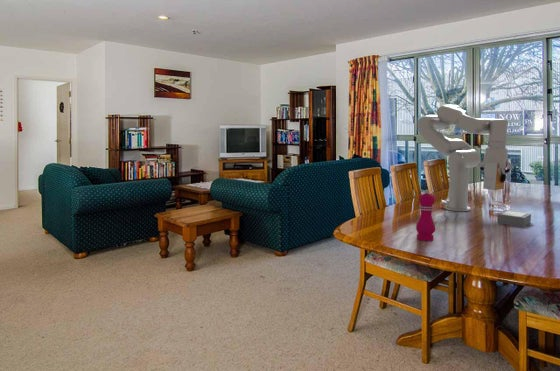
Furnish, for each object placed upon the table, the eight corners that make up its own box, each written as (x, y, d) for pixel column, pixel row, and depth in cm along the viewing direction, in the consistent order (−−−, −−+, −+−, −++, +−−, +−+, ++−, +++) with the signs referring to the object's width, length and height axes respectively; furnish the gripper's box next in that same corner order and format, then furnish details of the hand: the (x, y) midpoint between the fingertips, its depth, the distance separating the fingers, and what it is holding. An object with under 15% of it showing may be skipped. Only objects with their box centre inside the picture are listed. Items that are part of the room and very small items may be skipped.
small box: (495, 190, 205) (497, 163, 203) (482, 188, 210) (484, 162, 208) (504, 189, 210) (506, 162, 208) (491, 187, 215) (493, 161, 213)
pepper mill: (418, 236, 176) (420, 187, 173) (436, 238, 172) (439, 189, 169) (413, 239, 170) (415, 190, 167) (431, 242, 166) (434, 191, 163)
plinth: (497, 222, 198) (497, 214, 197) (504, 219, 206) (505, 210, 205) (523, 226, 190) (524, 217, 190) (530, 222, 198) (531, 213, 198)
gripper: (475, 144, 210) (472, 180, 213) (514, 146, 198) (511, 184, 201) (480, 143, 215) (478, 178, 218) (519, 145, 203) (515, 182, 206)
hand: (494, 181), depth 209 cm, fingers closed on small box, 7 cm apart
